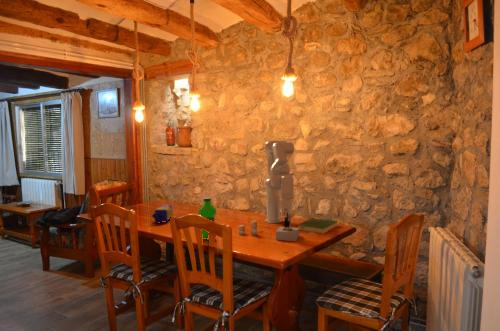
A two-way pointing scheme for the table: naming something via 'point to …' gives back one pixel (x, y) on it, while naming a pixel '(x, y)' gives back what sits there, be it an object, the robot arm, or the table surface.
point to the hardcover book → (317, 225)
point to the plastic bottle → (207, 213)
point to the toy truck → (163, 213)
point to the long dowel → (288, 227)
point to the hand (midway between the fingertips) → (287, 225)
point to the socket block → (287, 234)
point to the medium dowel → (253, 227)
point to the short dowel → (241, 229)
